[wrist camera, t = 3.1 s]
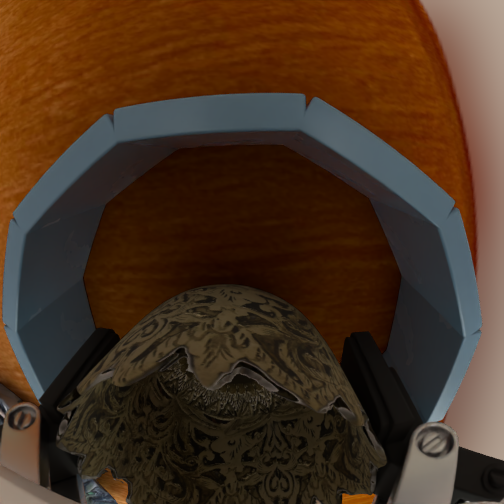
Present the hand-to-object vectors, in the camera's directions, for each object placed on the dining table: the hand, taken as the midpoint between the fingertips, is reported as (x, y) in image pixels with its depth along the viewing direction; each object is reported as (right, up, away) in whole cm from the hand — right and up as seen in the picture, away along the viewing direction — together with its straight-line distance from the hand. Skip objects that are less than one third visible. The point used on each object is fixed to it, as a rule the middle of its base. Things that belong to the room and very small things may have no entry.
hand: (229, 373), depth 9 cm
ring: (0, +1, +3) cm, 3 cm away
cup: (0, +1, +3) cm, 4 cm away
